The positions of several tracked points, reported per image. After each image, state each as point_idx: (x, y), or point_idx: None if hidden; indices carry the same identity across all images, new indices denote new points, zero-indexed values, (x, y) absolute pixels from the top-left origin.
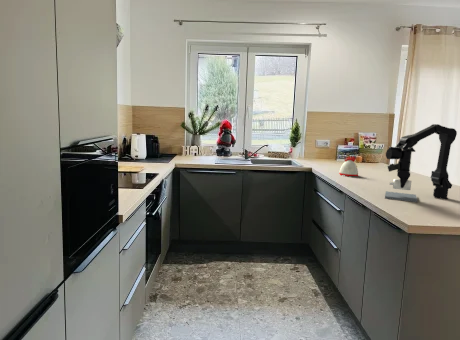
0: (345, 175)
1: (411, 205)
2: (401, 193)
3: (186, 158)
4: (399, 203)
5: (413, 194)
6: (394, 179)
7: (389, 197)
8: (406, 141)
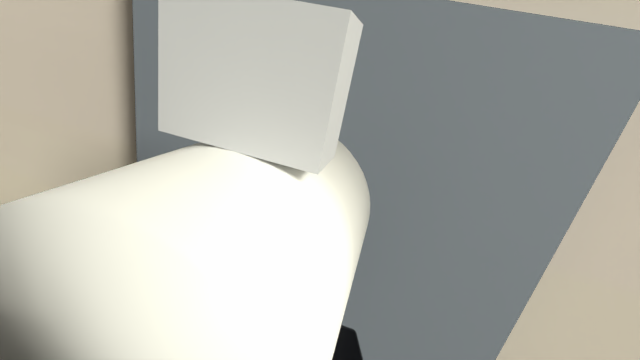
0: None
1: (3, 194)
2: (482, 286)
3: None
4: (3, 103)
5: None
6: (63, 236)
7: (141, 27)
8: None
